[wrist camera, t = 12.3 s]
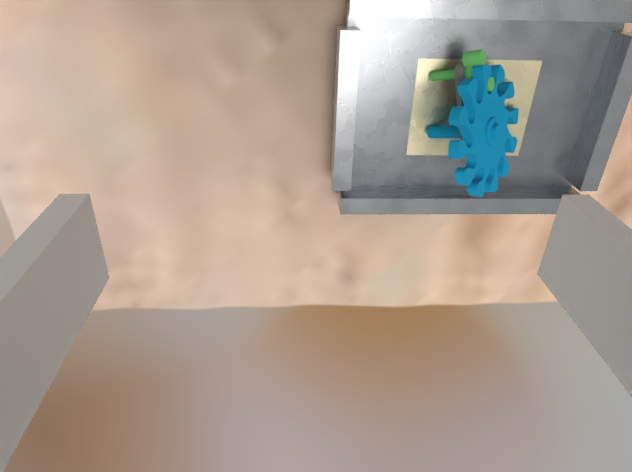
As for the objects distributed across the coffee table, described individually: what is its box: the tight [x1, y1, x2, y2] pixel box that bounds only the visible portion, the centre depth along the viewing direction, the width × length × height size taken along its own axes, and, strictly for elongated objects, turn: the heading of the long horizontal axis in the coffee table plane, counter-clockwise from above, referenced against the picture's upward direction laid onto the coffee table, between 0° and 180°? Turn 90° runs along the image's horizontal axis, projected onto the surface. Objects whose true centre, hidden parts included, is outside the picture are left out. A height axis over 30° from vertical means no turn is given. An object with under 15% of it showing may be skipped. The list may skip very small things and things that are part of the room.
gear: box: [427, 49, 519, 197], centre depth 38 cm, size 11×6×10 cm
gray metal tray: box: [331, 0, 632, 214], centre depth 39 cm, size 17×23×4 cm
